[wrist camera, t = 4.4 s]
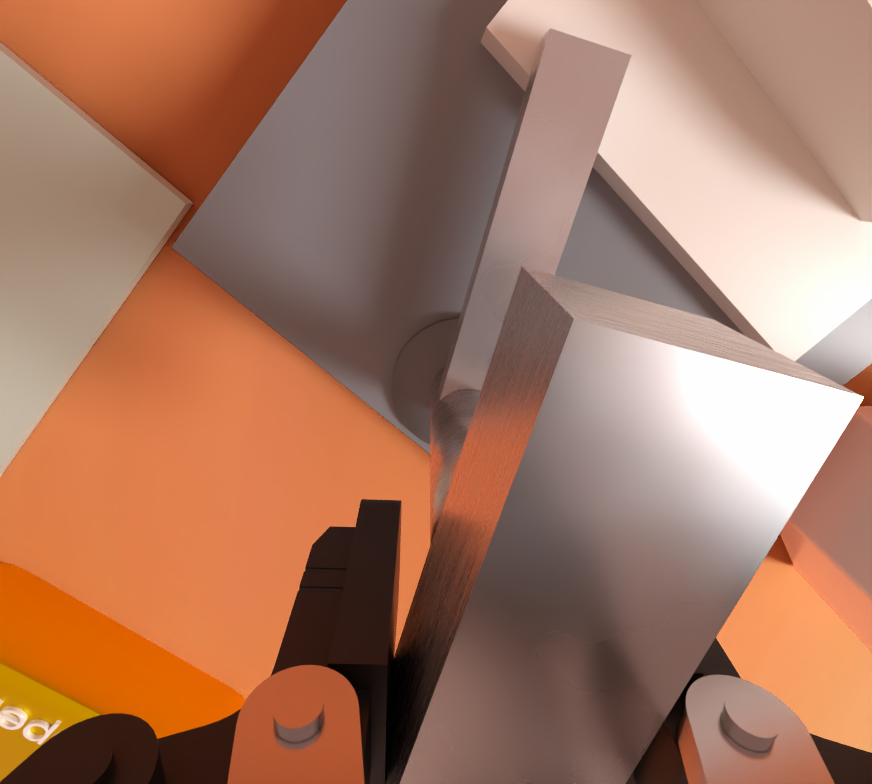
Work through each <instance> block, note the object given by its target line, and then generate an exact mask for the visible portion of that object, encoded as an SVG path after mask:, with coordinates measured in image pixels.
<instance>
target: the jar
mask: <svg viewBox="0 0 872 784" xmlns="http://www.w3.org/2000/svg"><path fill="white" fill-rule="evenodd" d="M780 536H781V538H782V540H783V542H784V545H785V547H786V549H787V551H788V554H789V556H790V558H791V561H792V563H793V565H794V567H795V569H796V571H797V572H798V573H799V574H800V575H801V576H802V577H803V578H804V579H805V580H806V581H807V583H808V584H809V585H810V586H811V587H812V588H813V589H814V590H815V591H816V592H817V593H818V594H819V596H820V597H821V598H822V599H823V600H824V601H825V602H826V603H827V604H828V605H829V606H830V607H831V608H832V610H833V611H834V612H835V613H836V614H837V615H838V616H839V617H840V618H841V619H842V620H843V621H844V623H845V624H846V625H847V626H848V627H849V628H850V629H851V630H852V631H853V632H854V633H855V634H856V636H857V637H858V638H859V639H860V640H861V641H862V642H863V643H864V644H865V645H866V646H867V647H868V649H869V650H870V651H871V652H872V406H858V408H857V409H856V411H855V412H854V414H853V416H852V417H851V419H850V421H849V422H848V424H847V425H846V427H845V429H844V430H843V432H842V434H841V435H840V437H839V438H838V440H837V442H836V443H835V445H834V446H833V448H832V450H831V451H830V453H829V455H828V456H827V458H826V459H825V461H824V463H823V464H822V466H821V468H820V469H819V471H818V472H817V474H816V476H815V477H814V479H813V481H812V482H811V484H810V485H809V487H808V489H807V490H806V492H805V493H804V495H803V497H802V498H801V500H800V502H799V503H798V505H797V506H796V508H795V510H794V511H793V513H792V515H791V516H790V518H789V519H788V521H787V523H786V524H785V526H784V528H783V529H782V531H781V532H780Z"/></svg>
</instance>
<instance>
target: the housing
mask: <svg viewBox="0 0 872 784" xmlns="http://www.w3.org/2000/svg"><path fill="white" fill-rule="evenodd" d="M507 1H508V0H347V1H346V3H345V4H344V5H343V7H342V8H341V10H340V11H339V12H338V14H337V15H336V17H335V18H334V20H333V21H332V22H331V24H330V25H329V27H328V28H327V29H326V31H325V32H324V34H323V35H322V36H321V38H320V39H319V41H318V42H317V43H316V45H315V46H314V48H313V49H312V50H311V52H310V53H309V55H308V56H307V57H306V59H305V60H304V62H303V63H302V64H301V66H300V67H299V69H298V70H297V71H296V73H295V74H294V76H293V77H292V78H291V80H290V81H289V83H288V84H287V85H286V87H285V88H284V90H283V91H282V93H281V94H280V95H279V97H278V98H277V100H276V101H275V102H274V104H273V105H272V107H271V108H270V109H269V111H268V112H267V114H266V115H265V116H264V118H263V119H262V121H261V122H260V123H259V125H258V126H257V128H256V129H255V130H254V132H253V133H252V135H251V136H250V137H249V139H248V140H247V142H246V143H245V144H244V146H243V147H242V149H241V150H240V151H239V153H238V154H237V156H236V157H235V158H234V160H233V161H232V163H231V164H230V166H229V167H228V168H227V170H226V171H225V173H224V174H223V175H222V177H221V178H220V180H219V181H218V182H217V184H216V185H215V187H214V188H213V189H212V191H211V192H210V194H209V195H208V196H207V198H206V199H205V201H204V202H203V203H202V205H201V206H200V208H199V209H198V210H197V212H196V213H195V215H194V216H193V217H192V219H191V220H190V222H189V223H188V224H187V226H186V227H185V229H184V230H183V231H182V233H181V234H180V236H179V237H178V238H177V240H176V241H175V243H174V244H173V246H172V247H171V248H172V249H174V250H175V251H176V252H177V253H179V254H180V255H181V256H182V257H184V258H185V259H186V260H187V261H189V262H190V263H191V264H192V265H194V266H195V267H196V268H197V269H199V270H200V271H201V272H202V273H204V274H205V275H206V276H207V277H209V278H210V279H211V280H212V281H214V282H215V283H216V284H217V285H219V286H220V287H221V288H222V289H224V290H225V291H226V292H227V293H229V294H230V295H231V296H232V297H234V298H235V299H236V300H237V301H239V302H240V303H241V304H242V305H244V306H245V307H246V308H247V309H249V310H250V311H251V312H252V313H254V314H255V315H256V316H257V317H259V318H260V319H261V320H262V321H264V322H265V323H266V324H267V325H269V326H270V327H271V328H272V329H274V330H275V331H276V332H278V333H279V334H280V335H281V336H283V337H284V338H285V339H286V340H288V341H289V342H290V343H291V344H293V345H294V346H295V347H296V348H298V349H299V350H300V351H301V352H303V353H304V354H305V355H306V356H308V357H309V358H310V359H311V360H313V361H314V362H315V363H316V364H318V365H319V366H320V367H321V368H323V369H324V370H325V371H326V372H328V373H329V374H330V375H331V376H333V377H334V378H335V379H336V380H338V381H339V382H340V383H341V384H343V385H344V386H345V387H346V388H348V389H349V390H350V391H351V392H353V393H354V394H355V395H356V396H358V397H359V398H360V399H361V400H363V401H364V402H365V403H366V404H368V405H369V406H370V407H371V408H373V409H374V410H375V411H376V412H378V413H379V414H380V415H381V416H383V417H384V418H385V419H386V420H388V421H389V422H390V423H391V424H393V425H394V426H395V427H396V428H398V429H399V430H400V431H401V432H403V433H404V434H405V435H406V436H408V437H409V438H410V439H411V440H413V441H414V442H415V443H416V444H418V445H419V446H420V447H421V448H423V449H424V450H425V451H427V452H428V453H429V454H430V388H431V384H432V381H433V379H434V377H435V376H436V374H437V373H438V372H439V371H440V370H441V369H442V368H444V367H445V364H446V361H447V357H448V354H449V350H450V347H451V344H452V340H453V337H454V333H455V330H456V327H457V323H458V320H459V316H460V313H461V310H462V306H463V303H464V299H465V296H466V292H467V289H468V286H469V282H470V279H471V275H472V272H473V269H474V265H475V262H476V258H477V255H478V251H479V248H480V245H481V241H482V238H483V234H484V231H485V228H486V224H487V221H488V217H489V214H490V211H491V207H492V204H493V200H494V197H495V193H496V190H497V187H498V183H499V180H500V176H501V173H502V170H503V166H504V163H505V159H506V156H507V153H508V149H509V146H510V142H511V139H512V135H513V132H514V129H515V125H516V122H517V118H518V115H519V112H520V108H521V105H522V101H523V98H524V94H525V91H524V90H523V89H522V88H521V87H520V86H519V84H518V83H517V82H516V81H515V80H514V79H513V78H512V77H511V76H510V75H509V73H508V72H507V71H506V70H505V69H504V68H503V67H502V66H501V65H500V63H499V62H498V61H497V60H496V59H495V58H494V57H493V56H492V55H491V53H490V52H489V51H488V50H487V49H486V48H485V47H484V46H483V45H482V44H481V40H482V37H483V34H484V32H485V29H486V27H487V26H488V24H489V23H490V22H491V21H492V19H493V18H494V17H495V16H496V14H497V13H498V12H499V11H500V10H501V8H502V7H503V6H504V5H505V3H506V2H507ZM555 276H559V277H563V278H566V279H570V280H573V281H577V282H581V283H584V284H588V285H591V286H595V287H599V288H602V289H606V290H609V291H613V292H617V293H620V294H624V295H627V296H631V297H635V298H638V299H642V300H645V301H649V302H653V303H656V304H660V305H663V306H667V307H671V308H674V309H678V310H681V311H685V312H689V313H692V314H696V315H699V316H703V317H707V318H710V319H713V320H715V321H717V322H719V323H721V324H723V325H725V326H727V327H729V328H731V329H733V330H735V331H737V332H739V333H741V334H742V335H744V334H743V333H742V332H741V330H740V329H739V328H738V327H737V326H736V325H735V324H734V323H733V322H732V321H731V319H730V318H729V317H728V316H727V315H726V314H725V313H724V312H723V311H722V309H721V308H720V307H719V306H718V305H717V304H716V303H715V302H714V301H713V299H712V298H711V297H710V296H709V295H708V294H707V293H706V292H705V291H704V289H703V288H702V287H701V286H700V285H699V284H698V283H697V282H696V281H695V280H694V278H693V277H692V276H691V275H690V274H689V273H688V272H687V271H686V270H685V268H684V267H683V266H682V265H681V264H680V263H679V262H678V261H677V260H676V258H675V257H674V256H673V255H672V254H671V253H670V252H669V251H668V250H667V248H666V247H665V246H664V245H663V244H662V243H661V242H660V241H659V240H658V239H657V237H656V236H655V235H654V234H653V233H652V232H651V231H650V230H649V229H648V227H647V226H646V225H645V224H644V223H643V222H642V221H641V220H640V219H639V217H638V216H637V215H636V214H635V213H634V212H633V211H632V210H631V209H630V207H629V206H628V205H627V204H626V203H625V202H624V201H623V200H622V199H621V198H620V196H619V195H618V194H617V193H616V192H615V191H614V190H613V189H612V188H611V186H610V185H609V184H608V183H607V182H606V181H605V180H604V179H603V178H602V176H601V175H600V174H599V173H598V172H597V171H596V170H595V169H594V168H593V167H592V170H591V172H590V175H589V178H588V181H587V184H586V187H585V190H584V192H583V195H582V198H581V201H580V204H579V207H578V210H577V212H576V215H575V218H574V221H573V224H572V227H571V230H570V232H569V235H568V238H567V241H566V244H565V247H564V250H563V252H562V255H561V258H560V261H559V264H558V267H557V270H556V272H555ZM744 336H745V335H744ZM795 362H797V363H799V364H801V365H803V366H805V367H807V368H809V369H811V370H813V371H814V372H816V373H818V374H820V375H822V376H824V377H826V378H828V379H830V380H832V381H834V382H836V383H838V384H840V385H842V386H843V385H845V384H846V383H847V382H849V381H850V380H851V379H852V378H854V377H855V376H856V375H857V374H859V373H860V372H861V371H863V370H864V369H865V368H866V367H868V366H869V365H870V364H872V299H870V300H869V301H868V302H867V303H866V304H864V305H863V306H862V307H861V308H859V309H858V310H857V311H856V312H855V313H853V314H852V315H851V316H850V317H848V318H847V319H846V320H845V321H844V322H842V323H841V324H840V325H839V326H837V327H836V328H835V329H834V330H833V331H831V332H830V333H829V334H828V335H827V336H825V337H824V338H823V339H822V340H820V341H819V342H818V343H817V344H816V345H814V346H813V347H812V348H811V349H809V350H808V351H807V352H806V353H805V354H803V355H802V356H801V357H800V358H798V359H797V360H796V361H795Z"/></svg>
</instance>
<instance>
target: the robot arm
mask: <svg viewBox="0 0 872 784" xmlns="http://www.w3.org/2000/svg"><path fill="white" fill-rule="evenodd" d="M400 536H401V501H396V500H366V499H362V500H361V503H360V508H359V513H358V518H357V523H356V527H329V528H328V529H327V530H326V532H325V533H324V534H323V535H322V536H321V537H320V538H319V539H318V540H317V541H316V542H315V543H314V544H313V545H312V548H311V552H310V555H309V558H308V561H307V564H306V569H305V572H304V574H303V577H302V580H301V583H300V589H299V591H298V593H297V596H296V599H295V603H294V606H293V609H292V612H291V615H290V619H289V622H288V625H287V628H286V631H285V634H284V638H283V641H282V644H281V647H280V650H279V654H278V657H277V660H276V663H275V666H274V669H273V671H272V674H271V676H270V677H269V678H267V679H266V680H264V681H263V682H262V683H261V684H260V685H258V686H257V687H256V688H255V689H254V690H253V692H252V693H251V694H250V695H249V696H248V698H247V699H246V701H245V702H244V704H243V706H242V708H241V709H240V710H238V711H236V712H235V713H233V714H231V715H230V716H228V717H226V718H223V719H221V720H219V721H217V722H214V723H211V724H208V725H205V726H201V727H198V728H194V729H190V730H187V731H183V732H180V733H176V734H173V735H169V736H166V737H162V738H159V739H157V736H156V734H155V732H154V730H153V728H152V727H151V726H150V725H149V724H148V723H147V722H146V721H144V720H143V719H141V718H139V717H137V716H134V715H130V714H124V713H111V714H105V715H99V716H96V717H92V718H89V719H86V720H83V721H81V722H79V723H76V724H74V725H72V726H70V727H68V728H66V729H64V730H63V731H61V732H60V733H58V734H57V735H55V736H53V737H52V738H50V739H49V740H48V741H47V742H45V743H44V744H43V745H42V746H40V747H39V748H38V749H37V750H36V751H34V752H33V753H32V754H31V755H30V756H29V757H28V758H27V759H25V760H24V761H23V762H22V763H21V764H20V765H19V766H17V767H16V768H15V769H14V770H13V771H12V772H11V773H9V774H8V775H7V776H6V777H5V778H4V779H3V780H2V781H0V784H385V776H386V762H387V748H388V734H389V720H390V705H391V691H392V677H393V663H394V652H395V638H396V624H397V609H398V593H399V571H400ZM626 784H872V753H870V752H866V751H863V750H860V749H857V748H853V747H850V746H847V745H844V744H840V743H837V742H834V741H831V740H827V739H824V738H821V737H818V736H816V735H813V734H810V733H809V732H808V730H807V729H806V727H805V725H804V724H803V723H802V721H801V720H800V719H799V718H798V716H797V715H796V714H795V713H794V712H793V711H792V710H791V709H790V708H789V707H788V706H787V705H786V704H784V703H783V702H782V701H781V700H780V699H778V698H777V697H776V696H774V695H773V694H771V693H770V692H768V691H767V690H765V689H763V688H761V687H760V686H758V685H755V684H753V683H751V682H749V681H746V680H743V679H741V678H740V676H739V674H738V673H737V671H736V669H735V668H734V666H733V665H732V663H731V661H730V660H729V658H728V657H727V655H726V653H725V652H724V650H723V649H722V647H721V645H720V644H719V642H718V641H717V639H716V638H715V639H714V641H713V643H712V644H711V646H710V647H709V649H708V651H707V652H706V654H705V656H704V657H703V659H702V660H701V662H700V664H699V665H698V667H697V669H696V670H695V672H694V673H693V675H692V677H691V678H690V680H689V682H688V683H687V685H686V686H685V688H684V690H683V691H682V693H681V694H680V696H679V698H678V699H677V701H676V703H675V704H674V706H673V707H672V709H671V711H670V712H669V714H668V716H667V717H666V719H665V720H664V722H663V724H662V725H661V727H660V729H659V730H658V732H657V733H656V735H655V737H654V738H653V740H652V741H651V743H650V745H649V746H648V748H647V750H646V751H645V753H644V754H643V756H642V758H641V759H640V761H639V763H638V764H637V766H636V767H635V769H634V771H633V772H632V774H631V776H630V777H629V779H628V780H627V782H626Z"/></svg>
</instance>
